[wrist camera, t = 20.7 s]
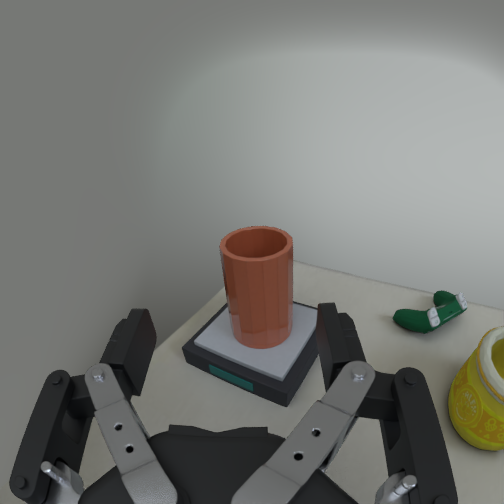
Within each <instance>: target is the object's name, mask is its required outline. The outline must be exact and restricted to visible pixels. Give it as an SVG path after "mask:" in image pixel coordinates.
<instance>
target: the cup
mask: <svg viewBox="0 0 504 504" xmlns="http://www.w3.org/2000/svg"><path fill="white" fill-rule="evenodd" d="M292 241H293V240H292V237H291V236H290V235H289V234H288V233H287V232H285V231H283V230H281V229H278V228H274V227H268V226H251V227H246V228H242V229H238V230H236V231H233V232H231V233H229V234H228V235H226V236H225V237H224V238H223V239H222V240H221V243H220V255H221V262H222V269H223V276H224V283H225V290H226V297H227V304H228V311H229V317H230V324H231V329H232V333H233V336H234V337H235V339H236V340H237V341H238V342H239V343H241V344H242V345H244V346H246V347H249V348H254V349H267V348H272V347H275V346H277V345H279V344H281V343H283V342H284V341H285V340H286V339H287V338H288V337H289V336H290V334H291V331H292V323H293V242H292Z"/></svg>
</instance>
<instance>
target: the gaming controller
mask: <svg viewBox="0 0 504 504" xmlns="http://www.w3.org/2000/svg"><path fill="white" fill-rule="evenodd" d="M433 299H434V303H435V304H436V305H437V306H438V307H436V308H434V307H432V308H431V309H428V310H427V311H418V310H410V309H400V310H397V311H396V312H395V314H394V316H393V320H394V321H395V322H397V323H398V324H399V325H401V326H403V327H405V328H407V329H409V330H412V331H416V332H423V334H426V333H427V332H431V331H433V330H434V329H436V328H439V327H440V326H441V325H443V324H445V323H446V322H448V321H450V320H451V319H453V318H455V317H456V316H458V315H460V314H461V313H463V312H464V311H465V310H466V309H467V302H466V300H465V297H464V295H463V294H462V292H460V293H459V294H458V295H453V294H451V293H449V292H446V291H437V292H436V293H435V294H434V298H433Z"/></svg>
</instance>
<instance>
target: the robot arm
mask: <svg viewBox="0 0 504 504" xmlns="http://www.w3.org/2000/svg"><path fill="white" fill-rule="evenodd" d="M316 340H317V346H318V351H319V356H320V362H321V367H322V373H323V378H324V384H325V390H326V394H325V395H324V397H323V398H322V399H321V400H317V401H316V402H315V403H314V404H313V405H312V407H311V408H310V409H309V411H308V412H307V413H306V415H305V416H304V417H303V419H302V420H301V421H300V422H299V424H298V425H297V426H296V428H295V429H294V430H293V431H292V433H291V434H290V435H289V436H288V438H287V439H285V438H283V437H280V436H278V435H274V434H270V433H268V428H267V427H242V428H238V429H233V430H228V431H223V432H212V431H208V430H204V429H201V428H197V427H194V426H182V425H169V430H168V431H166V432H162V433H159V434H156V435H154V436H152V437H150V435H149V434H148V432H147V431H146V429H145V427H144V425H143V424H142V422H141V420H140V418H139V416H138V414H137V412H136V411H135V409H134V407H133V405H132V403H131V401H130V400H131V397H132V395H135V396H140V395H141V391H142V388H143V384H144V381H145V378H146V374H147V371H148V368H149V364H150V361H151V358H152V355H153V351H154V348H155V344H156V332H155V328H154V325H153V322H152V319H151V316H150V313H149V311H148V310H147V309H132V310H131V311H130V313H129V316H128V318H127V319H122V320H121V321H120V322H119V323H118V324H117V325H116V327H115V329H114V331H113V335H112V336H111V338H110V341H109V342H108V344H107V347H106V349H105V351H104V353H103V356H102V358H101V360H100V362H99V364H95V365H93V366H91V367H90V368H89V369H88V370H87V372H86V374H84V375H79V376H73V377H70V375H69V374H68V373H67V372H66V371H64V370H57V371H54V372H52V373H51V374H50V375H49V376H48V377H47V379H46V381H45V383H44V386H43V388H42V390H41V393H40V395H39V397H38V400H37V402H36V405H35V407H34V410H33V413H32V415H31V417H30V420H29V423H28V426H27V428H26V431H25V434H24V437H23V439H22V442H21V445H20V448H19V451H18V454H17V457H16V461H15V464H14V467H13V470H12V474H11V477H10V482H9V484H10V489H11V491H12V493H13V494H14V495H15V496H16V497H18V498H20V499H21V500H23V501H25V502H26V503H27V504H358V503H357V502H356V501H355V500H354V499H353V498H352V497H350V496H349V495H348V494H347V493H346V492H345V491H343V490H342V489H341V488H340V487H339V486H338V485H337V484H336V483H334V482H333V481H332V480H331V479H330V478H329V477H328V476H327V475H326V474H325V473H324V472H325V471H326V469H327V468H328V467H329V465H330V464H331V462H332V461H333V459H334V458H335V456H336V454H337V453H338V451H339V449H340V447H341V446H342V444H343V442H344V441H345V439H346V438H347V436H348V435H349V433H350V431H351V430H352V428H353V426H354V425H355V423H356V421H357V420H358V418H359V417H364V418H372V419H379V422H380V427H381V433H382V438H383V444H384V450H385V456H386V463H387V469H388V476H389V478H388V479H387V480H386V481H385V482H384V483H383V484H382V485H381V486H380V488H379V489H378V490H377V492H376V497H375V504H458V497H457V492H456V487H455V482H454V478H453V473H452V469H451V465H450V461H449V457H448V453H447V449H446V445H445V441H444V438H443V434H442V430H441V427H440V424H439V420H438V417H437V414H436V410H435V407H434V404H433V401H432V398H431V395H430V392H429V388H428V386H427V383H426V380H425V377H424V375H423V374H422V373H421V372H420V371H419V370H417V369H415V368H410V367H406V368H402V369H400V370H399V371H398V372H397V373H396V374H387V373H381V372H377V371H375V370H374V369H373V367H372V366H371V365H369V364H368V363H367V362H366V359H365V356H364V353H363V350H362V346H361V343H360V340H359V337H358V334H357V331H356V329H355V325H354V322H353V320H352V319H351V318H350V316H349V315H348V314H347V313H338V312H337V309H336V305H335V303H321V304H318V309H317V321H316ZM93 417H96V420H97V422H98V425H99V427H100V430H101V432H102V434H103V437H104V439H105V441H106V444H107V446H108V448H109V450H110V453H111V455H112V457H113V459H114V461H115V463H116V466H115V467H113V468H112V469H111V470H110V471H108V472H107V473H106V474H105V475H103V476H102V477H101V478H100V479H98V480H97V481H96V482H95V483H93V484H92V485H91V486H89V487H88V488H87V489H86V490H85V491H84V488H83V481H82V478H81V477H80V475H79V469H80V465H81V461H82V457H83V453H84V449H85V445H86V441H87V437H88V433H89V430H90V426H91V422H92V419H93Z"/></svg>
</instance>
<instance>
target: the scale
mask: <svg viewBox="0 0 504 504" xmlns="http://www.w3.org/2000/svg"><path fill="white" fill-rule="evenodd" d="M317 309H318V308H315V307H312V306H308V305H304V304H301V303H297V302H294V301H293V323H292V331H291V334H290V336H289V337H288V338H287V339H286V340H285V341H284V342H283V343H281V344H279V345H277V346H275V347H272V348H267V349H254V348H249V347H246V346H244V345H242V344H241V343H239V342H238V341H237V340H236V339H235V337H234V336H233V333H232V329H231V324H230V317H229V311H228V304H227V303H226V304H225V305H224V306H223V307H222V308H221V309H220V310H219V311H218V312H217V313H216V314H215V315H214V316H213V317H212V318H211V319H210V320H209V321H208V322H207V323H206V324H205V325H204V326H203V327H202V328H201V329H200V330H199V331H198V332H197V333H196V334H195V335H194V336H193V337H192V338H191V339H190V340H189V341H188V342H187V343H186V344H185V345H184V346H183V347H182V350H183V353H184V356H185V359H186V362H187V363H189V364H191V365H193V366H195V367H197V368H199V369H201V370H203V371H205V372H207V373H210V374H212V375H214V376H216V377H218V378H220V379H222V380H224V381H226V382H229V383H231V384H233V385H235V386H237V387H240V388H242V389H244V390H246V391H249V392H251V393H253V394H256V395H258V396H260V397H263V398H265V399H268V400H270V401H272V402H275V403H277V404H280V405H282V406H285V407H287V406H288V405H289V403H290V401H291V400H292V398H293V396H294V395H295V393H296V391H297V390H298V388H299V386H300V385H301V383H302V381H303V380H304V378H305V376H306V375H307V373H308V371H309V369H310V368H311V366H312V364H313V362H314V361H315V359H316V357H317V355H318V354H319V351H318V346H317V340H316V321H317Z"/></svg>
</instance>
